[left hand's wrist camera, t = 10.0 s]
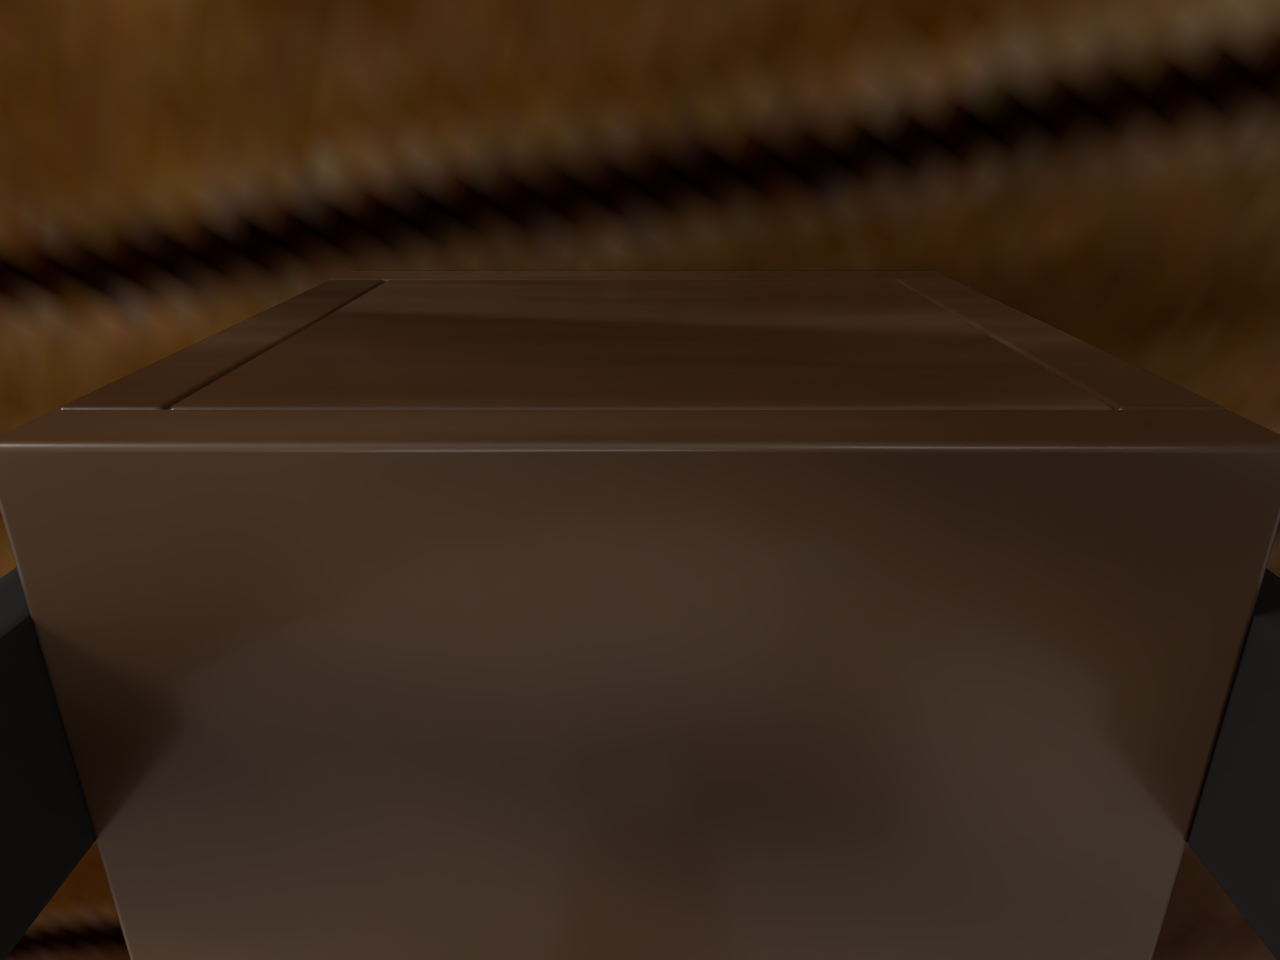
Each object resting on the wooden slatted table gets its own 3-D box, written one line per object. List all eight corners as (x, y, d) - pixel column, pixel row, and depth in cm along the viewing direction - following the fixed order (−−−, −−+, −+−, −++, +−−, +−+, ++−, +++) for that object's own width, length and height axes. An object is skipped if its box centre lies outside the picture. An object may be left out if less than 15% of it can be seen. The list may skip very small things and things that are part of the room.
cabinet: (845, 1020, 25) (974, 1581, 15) (436, 1020, 25) (307, 1578, 15) (936, 270, 17) (1307, 443, 8) (347, 270, 17) (-25, 442, 8)
